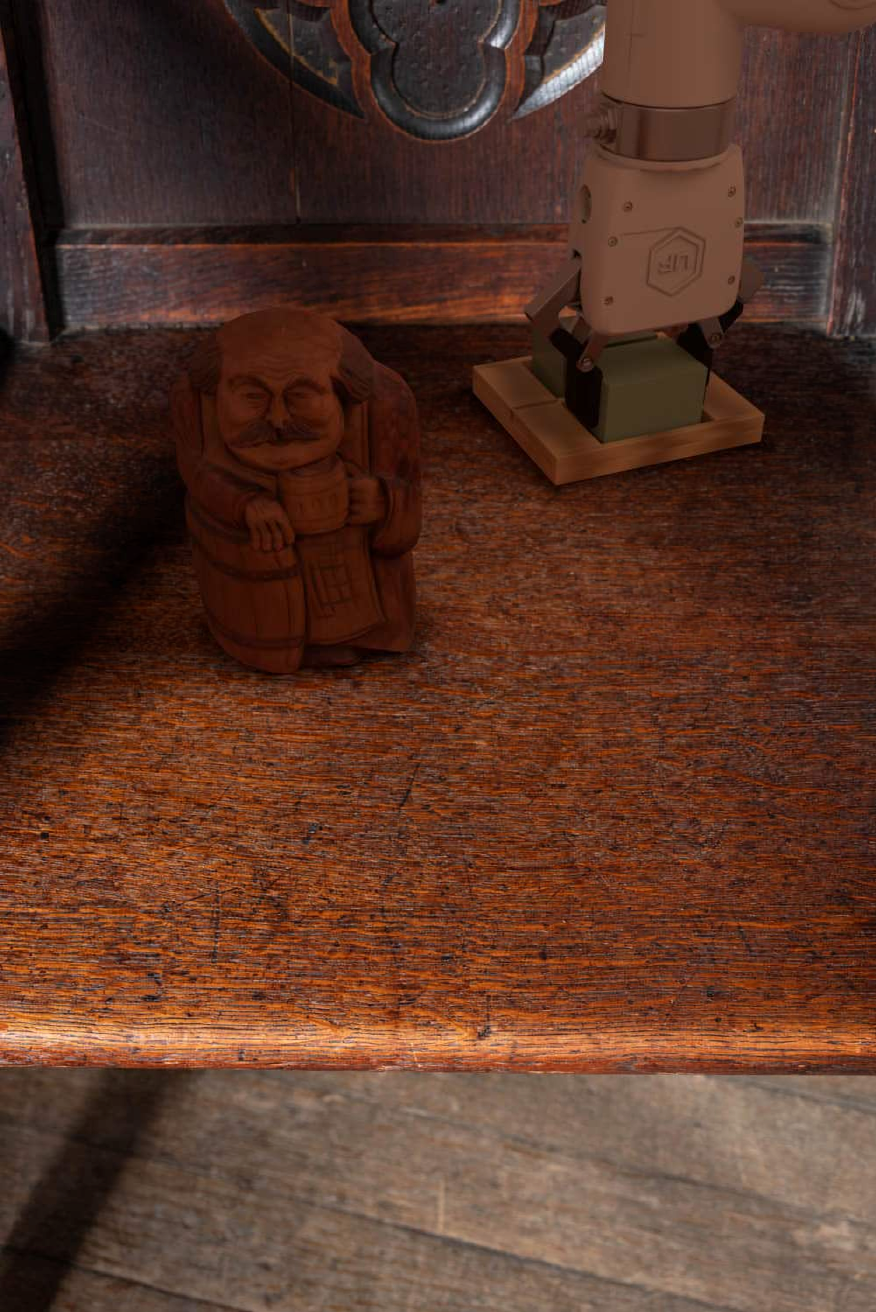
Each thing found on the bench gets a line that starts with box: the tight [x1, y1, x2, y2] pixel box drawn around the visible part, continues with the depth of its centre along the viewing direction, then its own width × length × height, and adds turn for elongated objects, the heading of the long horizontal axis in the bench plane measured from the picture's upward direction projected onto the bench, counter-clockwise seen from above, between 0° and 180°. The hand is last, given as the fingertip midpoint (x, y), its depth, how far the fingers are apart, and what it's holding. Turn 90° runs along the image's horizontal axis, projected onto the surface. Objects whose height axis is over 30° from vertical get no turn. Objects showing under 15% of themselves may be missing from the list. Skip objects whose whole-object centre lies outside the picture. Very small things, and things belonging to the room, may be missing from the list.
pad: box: [589, 336, 708, 444], centre depth 82 cm, size 7×5×4 cm
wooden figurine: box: [169, 307, 423, 674], centre depth 62 cm, size 12×6×18 cm, turn 98°
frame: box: [472, 314, 766, 487], centre depth 85 cm, size 15×14×5 cm
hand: (635, 406), depth 82 cm, fingers closed on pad, 7 cm apart
